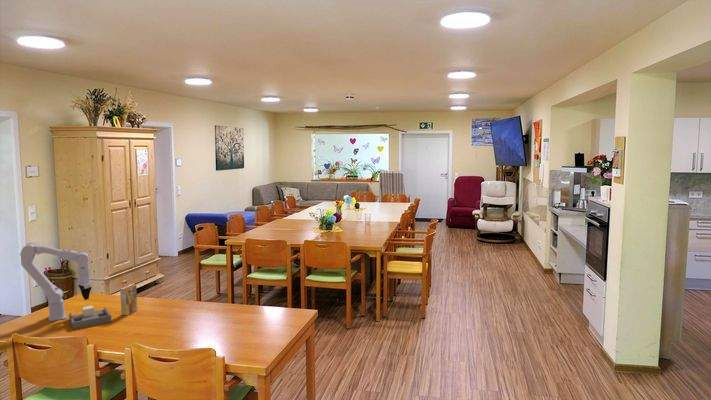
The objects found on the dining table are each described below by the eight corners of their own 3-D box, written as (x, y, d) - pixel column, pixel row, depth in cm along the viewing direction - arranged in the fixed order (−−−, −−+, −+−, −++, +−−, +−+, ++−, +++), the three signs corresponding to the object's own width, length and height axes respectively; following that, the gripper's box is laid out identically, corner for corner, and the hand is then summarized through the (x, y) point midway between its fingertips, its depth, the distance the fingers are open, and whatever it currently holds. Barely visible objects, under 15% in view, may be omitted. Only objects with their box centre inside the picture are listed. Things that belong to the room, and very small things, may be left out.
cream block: (82, 314, 270) (82, 307, 270) (93, 312, 273) (92, 305, 273) (84, 316, 266) (83, 309, 266) (94, 314, 269) (93, 307, 269)
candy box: (131, 309, 283) (130, 283, 281) (138, 310, 282) (136, 284, 280) (121, 315, 274) (119, 288, 273) (127, 315, 273) (125, 288, 272)
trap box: (69, 319, 268) (68, 313, 267) (105, 312, 278) (105, 306, 278) (73, 329, 254) (72, 322, 254) (111, 321, 264) (111, 315, 264)
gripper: (93, 276, 270) (95, 299, 272) (89, 270, 282) (91, 293, 283) (79, 278, 266) (81, 302, 267) (75, 272, 277) (77, 295, 279)
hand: (85, 298), depth 275 cm, fingers open, 6 cm apart
